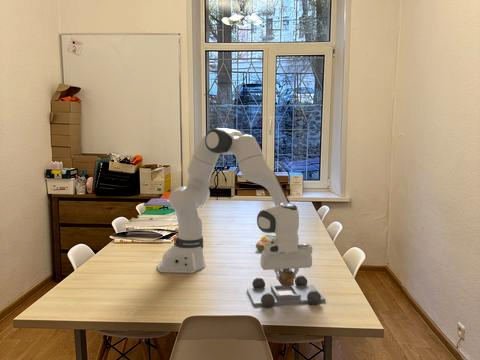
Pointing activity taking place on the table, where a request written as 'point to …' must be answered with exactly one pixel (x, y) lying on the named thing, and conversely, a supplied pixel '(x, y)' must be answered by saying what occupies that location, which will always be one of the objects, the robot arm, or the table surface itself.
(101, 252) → the table surface
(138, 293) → the table surface
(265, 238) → the puzzle game
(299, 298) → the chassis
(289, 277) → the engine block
